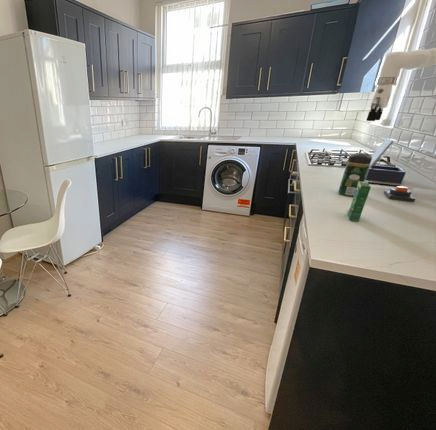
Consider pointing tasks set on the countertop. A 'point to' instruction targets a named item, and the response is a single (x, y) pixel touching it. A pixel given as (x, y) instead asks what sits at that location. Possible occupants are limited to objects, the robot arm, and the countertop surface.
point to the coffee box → (359, 200)
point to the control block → (399, 195)
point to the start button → (401, 188)
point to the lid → (380, 151)
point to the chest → (385, 175)
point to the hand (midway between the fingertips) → (373, 120)
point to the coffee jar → (354, 173)
